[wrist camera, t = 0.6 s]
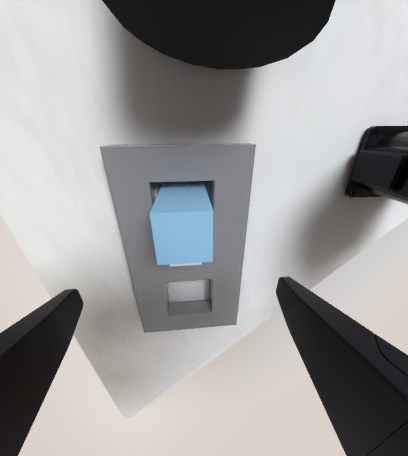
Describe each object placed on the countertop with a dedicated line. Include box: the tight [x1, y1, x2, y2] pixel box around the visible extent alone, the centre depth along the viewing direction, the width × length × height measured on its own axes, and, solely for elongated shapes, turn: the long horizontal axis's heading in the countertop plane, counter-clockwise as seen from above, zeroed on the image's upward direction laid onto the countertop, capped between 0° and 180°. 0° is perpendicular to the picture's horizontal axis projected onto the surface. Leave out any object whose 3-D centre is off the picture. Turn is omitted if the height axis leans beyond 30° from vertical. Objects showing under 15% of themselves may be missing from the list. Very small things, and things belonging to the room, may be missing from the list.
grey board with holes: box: [100, 143, 256, 333], centre depth 21 cm, size 12×22×2 cm, turn 0°
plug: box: [150, 183, 214, 267], centre depth 16 cm, size 4×5×7 cm
